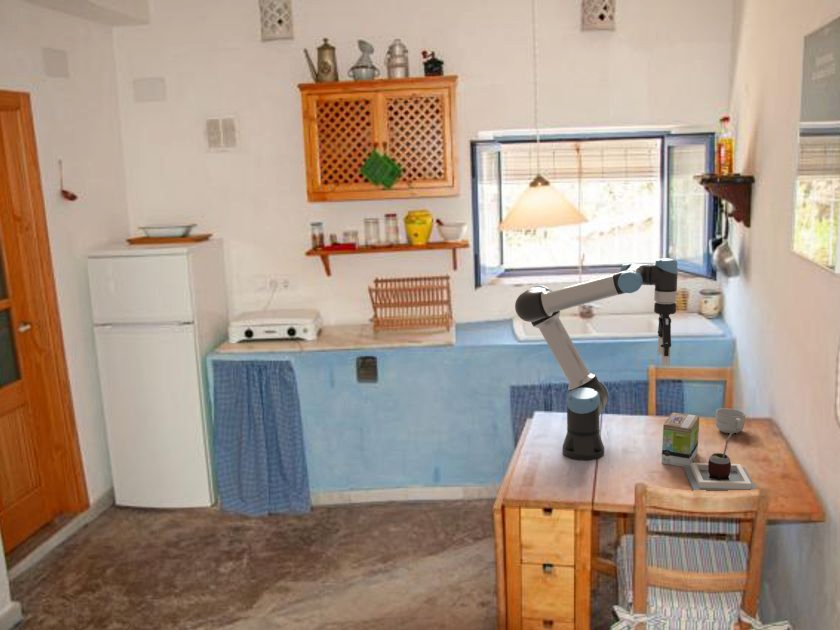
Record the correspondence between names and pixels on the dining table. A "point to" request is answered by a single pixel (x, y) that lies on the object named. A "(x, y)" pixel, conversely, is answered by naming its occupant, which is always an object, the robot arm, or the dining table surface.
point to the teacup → (730, 420)
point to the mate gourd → (719, 465)
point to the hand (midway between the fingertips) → (663, 359)
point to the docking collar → (701, 480)
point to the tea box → (680, 439)
